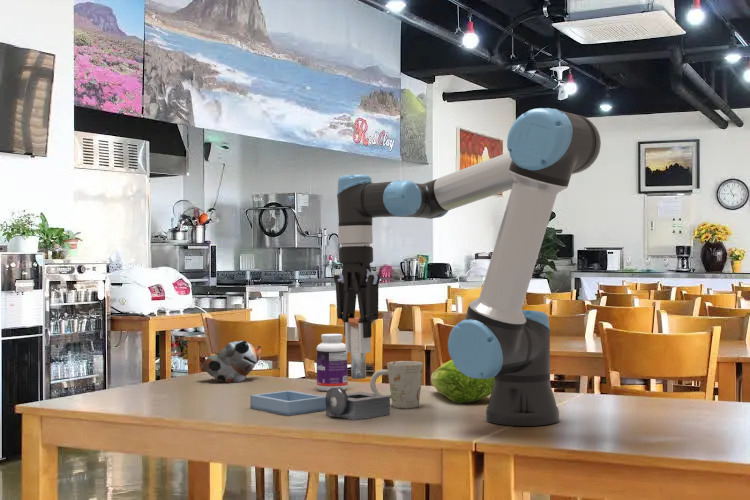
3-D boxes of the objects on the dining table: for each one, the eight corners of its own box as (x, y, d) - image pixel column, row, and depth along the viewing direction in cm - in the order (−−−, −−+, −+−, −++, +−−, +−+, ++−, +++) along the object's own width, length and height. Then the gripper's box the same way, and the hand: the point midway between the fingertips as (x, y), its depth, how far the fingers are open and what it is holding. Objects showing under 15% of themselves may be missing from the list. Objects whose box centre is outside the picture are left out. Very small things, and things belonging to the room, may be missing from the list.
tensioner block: (390, 414, 217) (389, 385, 217) (347, 421, 209) (347, 390, 209) (361, 409, 224) (360, 380, 224) (319, 415, 217) (318, 385, 217)
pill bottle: (313, 388, 260) (312, 333, 260) (343, 387, 262) (342, 332, 262) (321, 392, 252) (320, 336, 252) (351, 391, 254) (350, 335, 254)
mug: (420, 409, 223) (420, 365, 223) (366, 408, 226) (365, 364, 226) (426, 403, 232) (425, 361, 232) (373, 403, 234) (373, 360, 234)
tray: (327, 410, 224) (327, 396, 224) (288, 415, 217) (287, 402, 217) (289, 403, 235) (289, 390, 235) (250, 408, 228) (250, 395, 228)
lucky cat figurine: (230, 376, 288) (252, 334, 288) (253, 396, 280) (276, 353, 279) (192, 366, 277) (215, 322, 276) (214, 386, 269) (238, 341, 268)
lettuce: (466, 369, 255) (428, 342, 251) (513, 374, 232) (472, 344, 229) (442, 409, 252) (404, 383, 248) (488, 418, 229) (447, 389, 226)
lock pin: (371, 377, 217) (370, 317, 217) (357, 379, 214) (356, 318, 214) (360, 376, 220) (358, 317, 220) (345, 378, 217) (344, 318, 218)
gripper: (394, 244, 213) (396, 353, 213) (345, 246, 226) (347, 348, 226) (367, 244, 209) (370, 355, 208) (318, 246, 222) (321, 351, 221)
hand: (358, 352), depth 217 cm, fingers closed on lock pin, 4 cm apart
